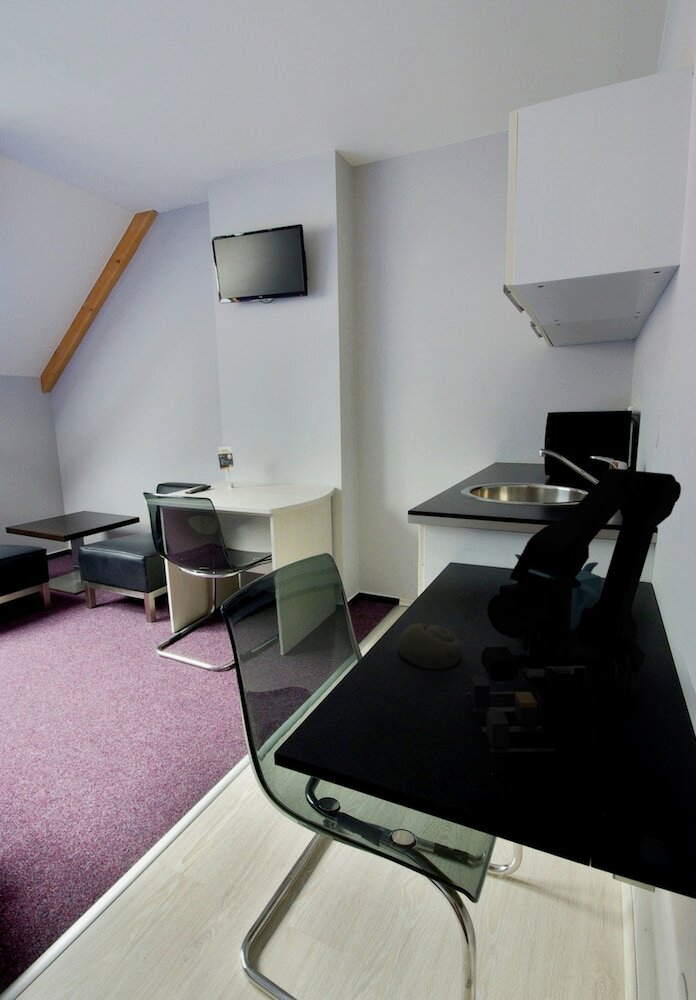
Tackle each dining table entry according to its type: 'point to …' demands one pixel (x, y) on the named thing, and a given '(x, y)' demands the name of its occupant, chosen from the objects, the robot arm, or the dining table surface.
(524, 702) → the handle
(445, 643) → the seashell
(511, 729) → the panel
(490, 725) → the handle
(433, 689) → the dining table surface
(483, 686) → the handle
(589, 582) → the teakettle
